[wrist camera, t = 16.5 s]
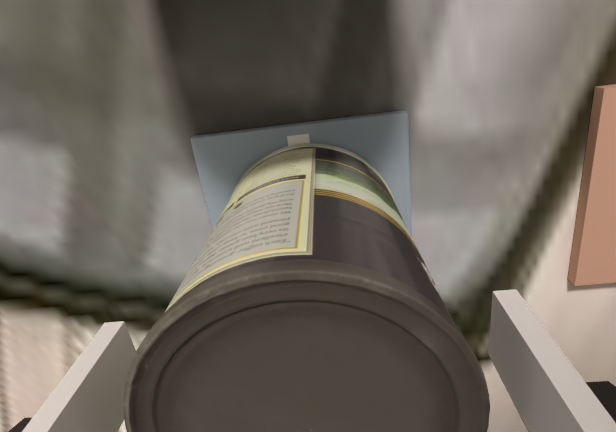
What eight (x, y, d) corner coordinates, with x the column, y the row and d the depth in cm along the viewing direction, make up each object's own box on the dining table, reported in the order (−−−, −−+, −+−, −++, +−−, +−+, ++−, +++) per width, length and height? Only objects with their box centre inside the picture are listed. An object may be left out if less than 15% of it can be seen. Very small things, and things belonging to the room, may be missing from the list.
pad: (194, 135, 23) (189, 139, 23) (405, 109, 22) (408, 112, 22) (234, 308, 28) (232, 316, 27) (411, 292, 27) (414, 300, 26)
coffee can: (408, 144, 22) (534, 283, 9) (387, 301, 26) (455, 550, 13) (221, 136, 22) (90, 265, 9) (228, 294, 26) (143, 537, 14)
